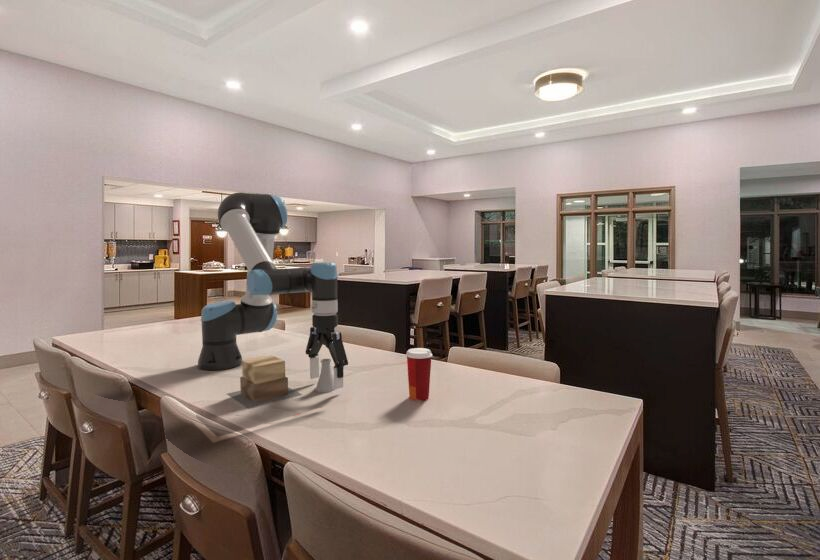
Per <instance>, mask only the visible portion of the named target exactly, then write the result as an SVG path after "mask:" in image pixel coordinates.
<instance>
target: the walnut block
mask: <svg viewBox="0 0 820 560" xmlns="http://www.w3.org/2000/svg"><path fill="white" fill-rule="evenodd" d="M288 387H289V377H287V376H285V378H282V379H277V380H273V381H268V382H264V383H259V384H254V383H252V382H250V381H248V380H247V379H245V378H243V376H240V391H241V394H242V395H243V396H245V397H247V398H248V399H250V400H251V401H253V402H254V403H256V402H260V401H264V400H268V399H272V398H276V397H280V396H284V395H288Z"/></svg>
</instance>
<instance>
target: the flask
mask: <svg viewBox="0 0 820 560" xmlns="http://www.w3.org/2000/svg"><path fill="white" fill-rule="evenodd" d="M331 362H332V358H322V359H320V364H321V367H320V368H321V370H320V373H319V377H318V380H317V383H316V387H315V390H314V391H315V392H319V393H332V392H334V391H336V390H338V389H334V373H333V372H332V368H331Z"/></svg>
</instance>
